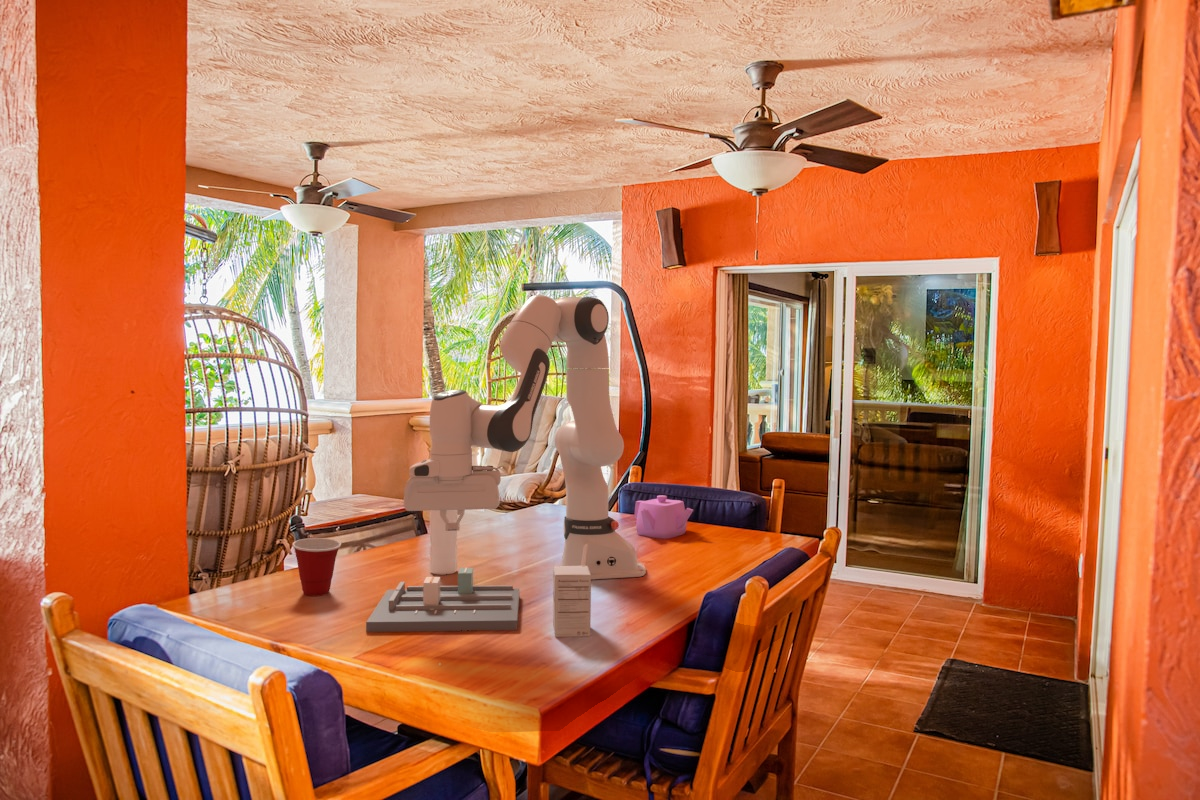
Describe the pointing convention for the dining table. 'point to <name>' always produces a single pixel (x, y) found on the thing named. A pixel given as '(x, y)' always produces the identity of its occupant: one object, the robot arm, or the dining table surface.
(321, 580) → the plastic cup
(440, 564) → the water bottle
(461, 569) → the fader
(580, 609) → the supplement box
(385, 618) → the console
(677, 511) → the teakettle
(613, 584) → the dining table surface
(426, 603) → the fader
